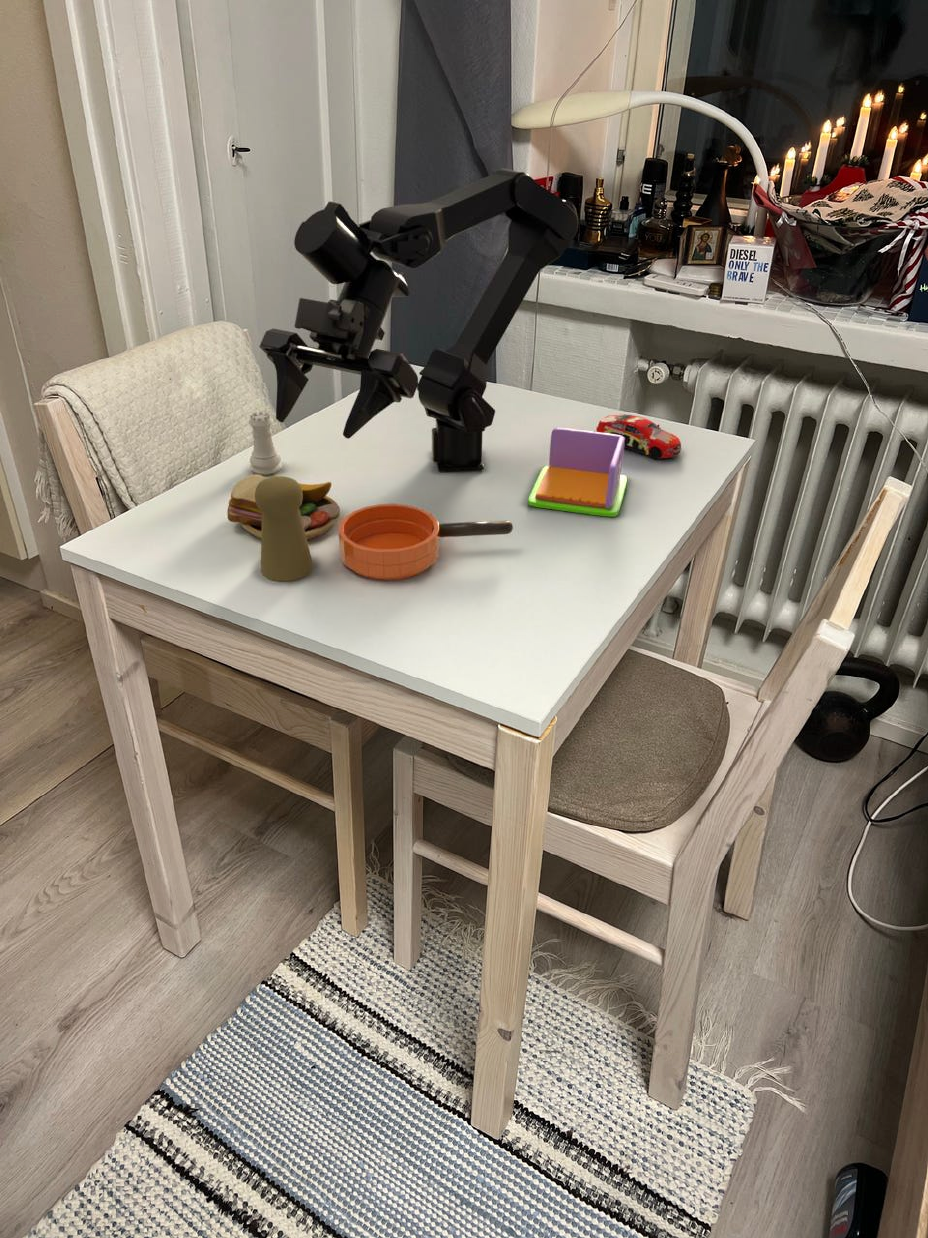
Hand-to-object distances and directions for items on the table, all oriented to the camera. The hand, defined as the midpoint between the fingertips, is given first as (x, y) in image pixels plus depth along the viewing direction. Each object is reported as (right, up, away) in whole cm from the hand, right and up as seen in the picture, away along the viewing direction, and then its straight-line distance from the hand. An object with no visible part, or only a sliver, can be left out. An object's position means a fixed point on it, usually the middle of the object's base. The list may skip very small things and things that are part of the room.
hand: (311, 428), depth 105 cm
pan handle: (+18, -12, +4) cm, 22 cm away
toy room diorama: (+33, -5, +18) cm, 38 cm away
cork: (-3, -16, +1) cm, 16 cm away
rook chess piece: (-10, -1, +23) cm, 25 cm away
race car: (+43, +4, +31) cm, 53 cm away
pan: (+9, -14, +4) cm, 17 cm away
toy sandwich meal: (-5, -10, +11) cm, 15 cm away
